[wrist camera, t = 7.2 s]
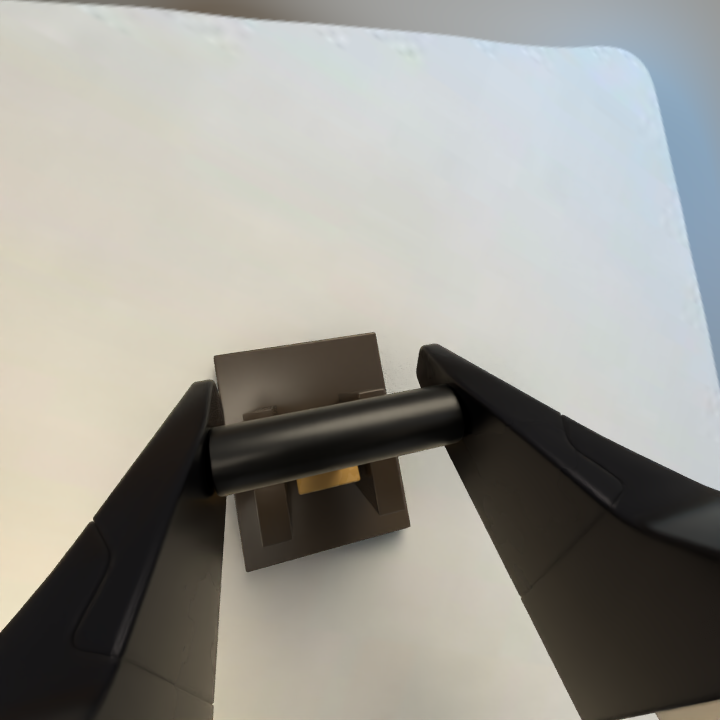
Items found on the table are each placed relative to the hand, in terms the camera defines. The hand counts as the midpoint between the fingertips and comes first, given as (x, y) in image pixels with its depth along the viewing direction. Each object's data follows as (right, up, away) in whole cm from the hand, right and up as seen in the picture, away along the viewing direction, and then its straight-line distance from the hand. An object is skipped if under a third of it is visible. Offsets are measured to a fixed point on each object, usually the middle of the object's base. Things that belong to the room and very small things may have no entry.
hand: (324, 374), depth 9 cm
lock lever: (0, -4, +2) cm, 4 cm away
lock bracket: (-2, -4, +10) cm, 10 cm away
